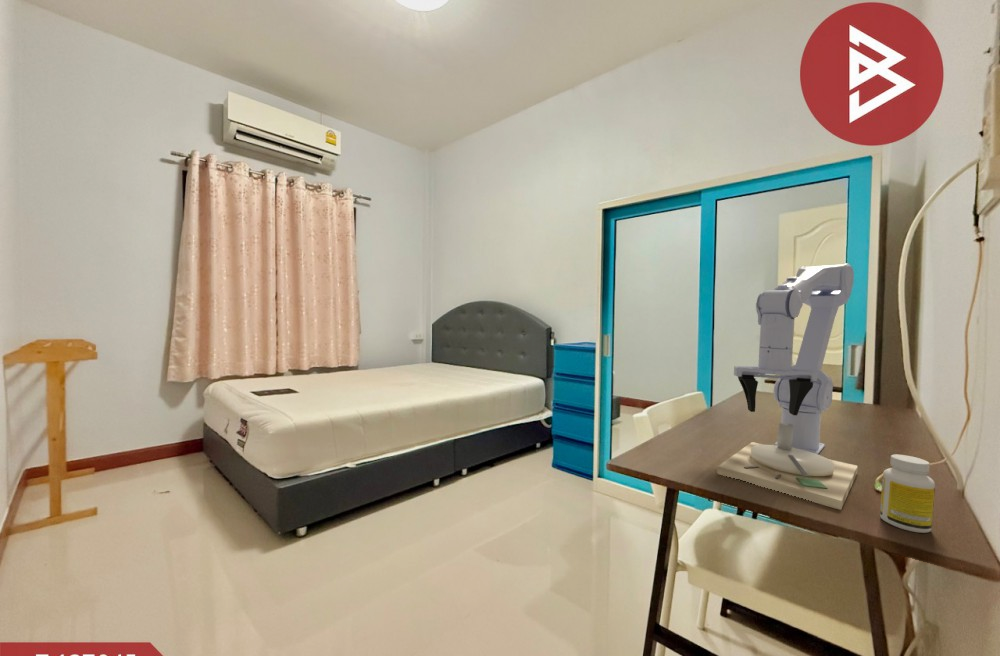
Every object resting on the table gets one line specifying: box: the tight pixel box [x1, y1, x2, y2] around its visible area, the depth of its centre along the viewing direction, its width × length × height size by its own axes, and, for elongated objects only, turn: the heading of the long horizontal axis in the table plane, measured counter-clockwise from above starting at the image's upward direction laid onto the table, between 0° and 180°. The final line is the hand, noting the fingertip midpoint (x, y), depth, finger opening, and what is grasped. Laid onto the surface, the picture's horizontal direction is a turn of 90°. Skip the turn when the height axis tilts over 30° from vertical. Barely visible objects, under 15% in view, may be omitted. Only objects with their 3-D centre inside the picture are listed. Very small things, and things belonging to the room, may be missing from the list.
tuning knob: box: [751, 421, 834, 478], centre depth 75 cm, size 18×13×6 cm
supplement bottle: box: [879, 453, 936, 534], centre depth 59 cm, size 5×5×10 cm
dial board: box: [716, 441, 858, 511], centre depth 77 cm, size 22×18×2 cm
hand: (772, 412), depth 84 cm, fingers open, 7 cm apart
